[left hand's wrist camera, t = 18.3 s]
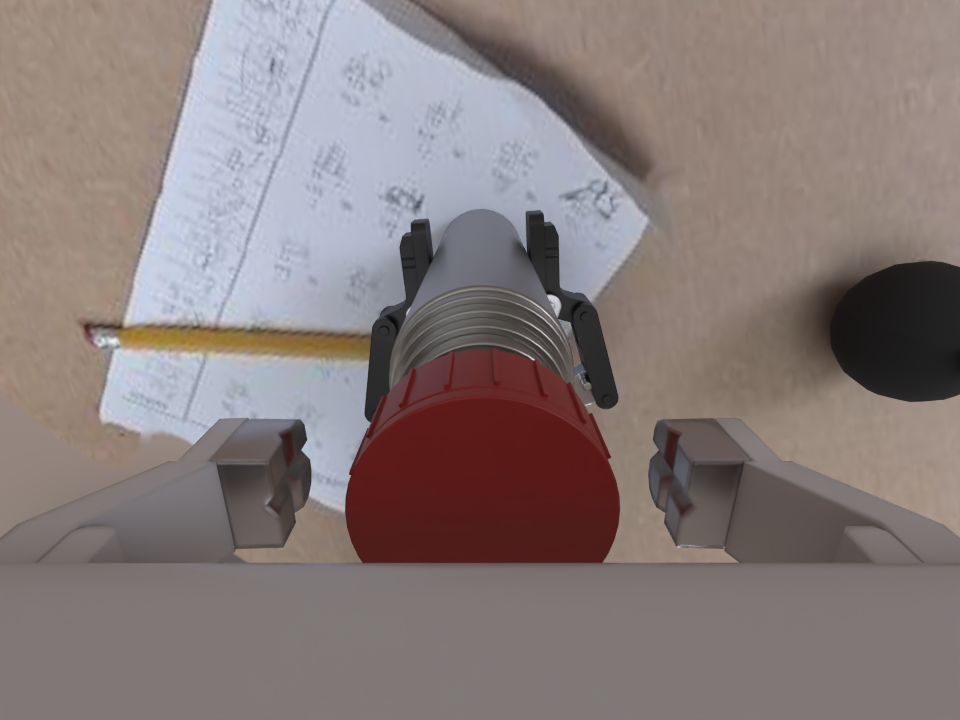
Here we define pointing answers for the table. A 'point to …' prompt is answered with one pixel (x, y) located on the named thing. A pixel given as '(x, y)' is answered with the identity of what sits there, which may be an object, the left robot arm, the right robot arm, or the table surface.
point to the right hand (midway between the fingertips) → (476, 218)
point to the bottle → (481, 302)
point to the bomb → (902, 332)
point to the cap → (482, 468)
